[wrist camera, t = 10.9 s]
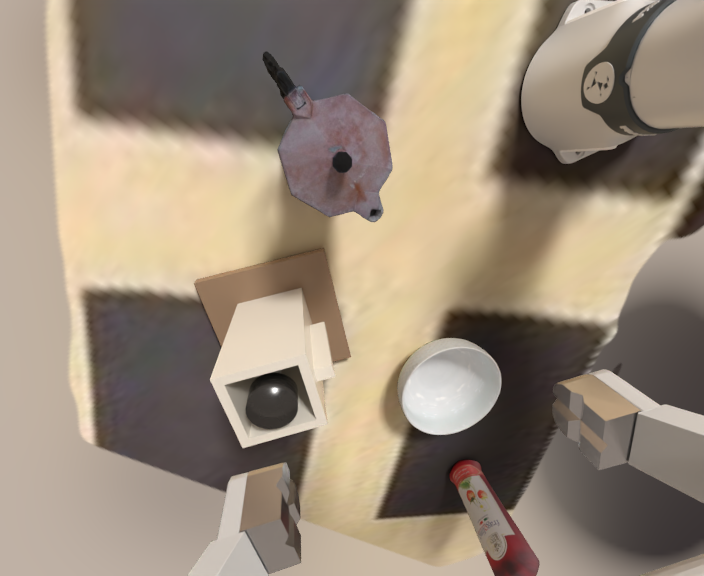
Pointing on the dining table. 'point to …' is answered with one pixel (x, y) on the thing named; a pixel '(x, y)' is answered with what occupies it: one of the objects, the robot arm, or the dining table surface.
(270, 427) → the dark-topped thin piece
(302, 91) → the moka pot
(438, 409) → the cereal bowl
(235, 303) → the hollow square stand
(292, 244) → the dining table surface
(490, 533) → the liquor
